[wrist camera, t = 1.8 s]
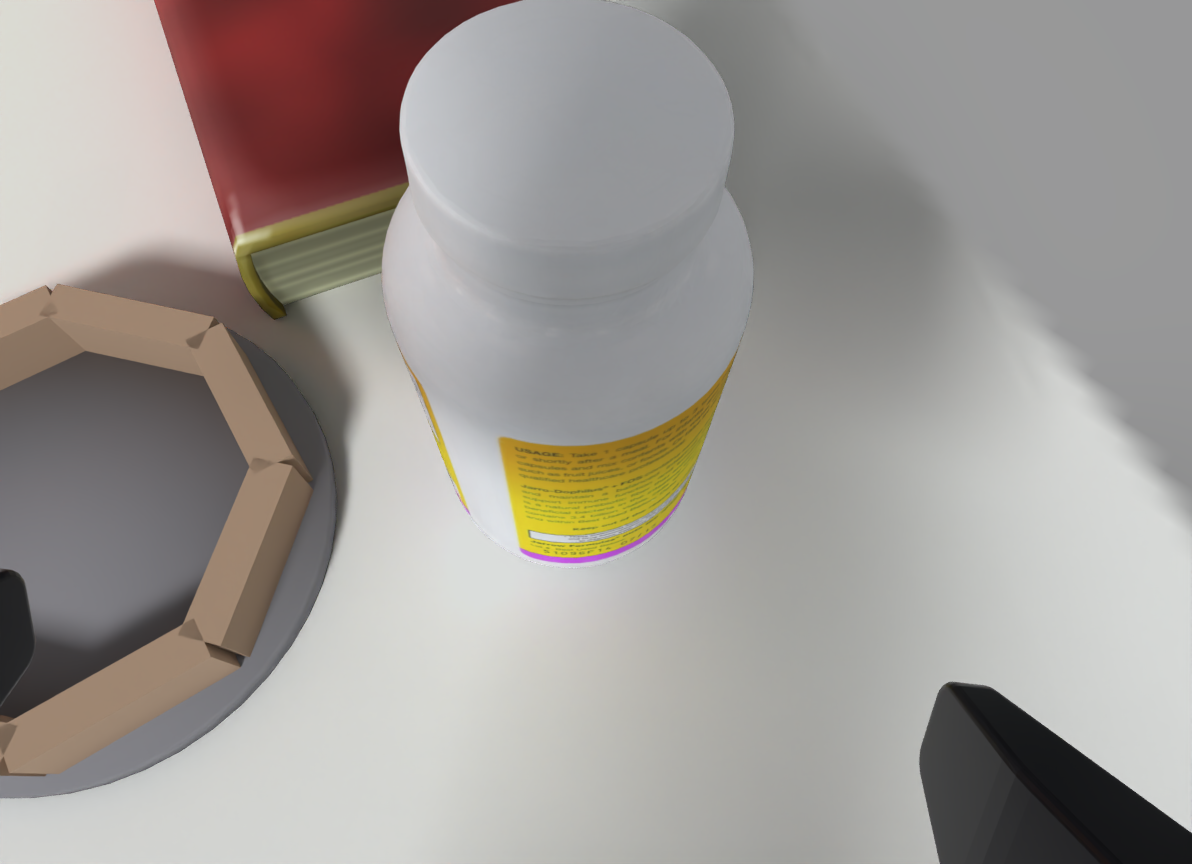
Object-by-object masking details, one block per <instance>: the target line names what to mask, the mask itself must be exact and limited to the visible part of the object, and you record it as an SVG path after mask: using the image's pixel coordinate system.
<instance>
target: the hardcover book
mask: <svg viewBox="0 0 1192 864" xmlns="http://www.w3.org/2000/svg"><path fill="white" fill-rule="evenodd" d="M518 1H522V0H154V2H155V5H156V8H157V11H158V14H159V17H160V21H161V24H162V27H163V30H164V33H165V36H166V39H167V43H168V46H169V49H170V52H171V55H172V58H173V62H174V65H175V68H176V71H177V74H178V77H179V81H180V84H181V87H182V90H183V93H184V96H185V100H186V103H187V106H188V109H189V112H190V115H191V119H192V122H193V125H194V128H195V131H196V134H197V137H198V141H199V144H200V147H201V150H202V153H203V156H204V160H205V163H206V166H207V169H208V172H209V175H210V179H211V182H212V185H213V188H214V191H215V194H216V198H217V201H218V204H219V207H220V210H221V213H222V217H223V220H224V223H225V226H226V229H227V232H228V235H229V239H230V242H231V245H232V248H233V251H234V254H235V258H236V261H237V264H238V267H239V270H240V273H241V277H242V279H243V281H244V283H245V285H246V287H247V289H248V290H249V292H250V294H251V295H252V297H253V298H254V299H255V301H256V302H257V303H258V304H259V306H260V307H261V308H262V309H263V310H264V311H265V312H266V313H267V314H269V315H270V316H271V317H272V318H273V319H274V320H275V319H278V318H281V317H284V316H287V314H286V311H285V308H284V305H285V304H288V303H292V302H295V301H298V300H301V299H304V298H307V297H310V296H313V295H316V294H319V293H322V292H325V291H328V290H331V289H334V288H337V287H340V286H343V285H346V284H349V283H352V282H355V281H358V280H361V279H364V278H367V277H370V276H373V275H376V274H379V273H382V257H383V247H384V243H385V239H386V234H387V230H388V227H389V225H390V222H391V219H392V216H393V214H394V212H395V209H396V207H397V205H398V203H399V201H400V199H401V198H402V196H403V194H404V193H405V191H406V190H407V188H408V186H409V180H408V174H407V169H406V164H405V159H404V155H403V150H402V146H401V140H400V132H399V128H400V110H401V104H402V100H403V97H404V93H405V90H406V87H407V84H408V82H409V79H410V77H411V75H412V74H413V72H414V70H415V68H416V66H417V65H418V64H419V62H420V61H421V60H422V58H423V57H424V56H425V54H426V53H427V52H428V51H429V50H430V49H431V48H432V47H433V46H434V45H435V44H436V43H437V42H438V41H439V40H440V39H441V38H442V37H443V36H444V35H446V34H447V33H449V32H450V31H452V30H453V29H454V28H456V27H457V26H459V25H460V24H462V23H463V22H465V21H467V20H469V19H471V18H473V17H475V16H476V15H478V14H481V13H484V12H486V11H489V10H491V9H494V8H497V7H499V6H503V5H507V4H511V3H515V2H518Z"/></svg>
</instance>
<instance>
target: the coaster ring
mask: <svg viewBox="0 0 1192 864" xmlns="http://www.w3.org/2000/svg"><path fill="white" fill-rule="evenodd" d="M335 526H336V485H335V477H334V469H333V463H332V460H331V456H330V452H329V449H328V445H327V442H326V438H325V436H324V434H323V432H322V429H321V427H320V425H319V423H318V421H317V419H316V416H315V414H314V413H313V411H312V410H311V408H310V407H309V405H308V403H307V402H306V400H305V399H304V397H303V396H302V394H301V393H300V391H299V390H298V388H297V387H296V386H295V384H294V383H293V381H292V380H291V379H290V378H289V376H288V375H287V374H286V373H285V372H284V371H283V370H282V369H281V368H280V366H279V365H278V364H277V363H276V362H275V361H274V360H273V359H272V358H271V357H269V356H268V355H267V354H266V353H264V352H263V351H262V350H261V349H259V348H258V347H257V346H256V345H255V344H253V343H252V342H250V341H248V340H247V339H245V338H243V337H242V336H240V335H238V334H237V333H235V332H233V331H232V330H230V329H228V328H226V327H225V326H224V325H223V323H220V324H219V323H218V322H217V320H216V319H215V318H214V317H212V316H207V315H203V314H198V313H193V312H189V311H184V310H179V309H174V308H170V307H165V306H160V305H155V304H151V303H146V302H141V301H136V300H132V299H127V298H122V297H118V296H113V295H108V294H103V293H99V292H94V291H89V290H84V289H80V288H75V287H70V286H65V285H61V284H57V285H56V287H55V289H54V291H53V292H52V291H51V290H50V289H49V288H48V287H47V286H46V285H45V286H43V287H41V288H38V289H36V290H34V291H32V292H29V293H27V294H25V295H22V296H20V297H18V298H16V299H13V300H11V301H9V302H7V303H4V304H2V305H0V568H2V569H11V570H14V571H15V572H17V573H19V574H20V575H21V577H22V578H23V579H24V581H25V584H26V589H27V594H28V600H29V605H30V611H31V616H32V621H33V627H34V632H35V639H36V645H35V651H34V655H33V658H32V660H31V662H30V664H29V666H28V668H27V669H26V671H25V672H24V674H23V675H22V677H21V678H20V679H19V681H18V682H17V684H16V685H15V687H14V688H13V689H12V691H11V692H10V694H9V695H8V697H7V698H6V699H5V701H4V702H3V704H2V705H1V707H0V798H35V797H44V796H52V795H61V794H70V793H74V792H78V791H82V790H86V789H90V788H94V787H98V786H102V785H106V784H110V783H112V782H115V781H117V780H120V779H123V778H125V777H128V776H130V775H133V774H136V773H138V772H141V771H143V770H146V769H148V768H150V767H151V766H153V765H155V764H157V763H159V762H161V761H163V760H165V759H167V758H169V757H171V756H172V755H174V754H176V753H178V752H180V751H182V750H183V749H185V748H186V747H187V746H189V745H190V744H192V743H193V742H195V741H196V740H198V739H199V738H201V737H202V736H204V735H205V734H207V733H208V732H210V731H211V730H213V729H214V728H215V727H216V726H217V725H218V724H220V723H221V722H222V721H223V720H224V719H226V718H227V717H228V716H229V715H230V714H231V713H233V712H234V711H235V710H236V709H237V708H238V707H240V706H241V705H242V704H243V703H244V702H245V701H246V700H247V699H248V698H249V697H250V695H251V694H252V693H253V692H254V691H255V690H256V689H257V688H258V687H259V686H260V685H261V684H262V683H263V682H264V681H265V679H266V678H267V677H268V676H269V675H270V674H271V672H272V671H273V670H274V668H275V667H276V666H277V664H278V663H279V662H280V660H281V659H282V658H283V656H284V655H285V654H286V652H287V651H288V650H289V648H290V647H291V645H292V643H293V642H294V640H295V638H296V637H297V635H298V633H299V631H300V630H301V628H302V626H303V625H304V623H305V621H306V619H307V618H308V616H309V614H310V611H311V609H312V607H313V604H314V602H315V600H316V597H317V595H318V593H319V591H320V588H321V586H322V583H323V580H324V576H325V573H326V569H327V566H328V563H329V559H330V556H331V552H332V545H333V539H334V532H335Z"/></svg>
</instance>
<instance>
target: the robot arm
mask: <svg viewBox="0 0 1192 864" xmlns="http://www.w3.org/2000/svg"><path fill="white" fill-rule="evenodd" d="M35 645H36V639H35V632H34V627H33V621H32V616H31V611H30V605H29V600H28V594H27V589H26V584H25V581H24V579H23V578H22V577H21V575H20V574H19V573H17V572H15V571H14V570H11V569H2V568H0V707H1V705H2V704H3V702H4V701H5V699H6V698H7V697H8V695H9V694H10V692H11V691H12V689H13V688H14V687H15V685H16V684H17V682H18V681H19V679H20V678H21V677H22V675H23V674H24V672H25V671H26V669H27V668H28V666H29V664H30V662H31V660H32V658H33V655H34V651H35ZM919 765H920V774H921V779H922V784H923V788H924V793H925V798H926V802H927V807H928V811H929V816H930V821H931V825H932V830H933V834H934V839H935V844H936V848H937V853H938V857H939V862H940V864H1192V833H1191V832H1189V831H1188V830H1187V829H1185V828H1184V827H1183V826H1181V825H1180V824H1178V823H1177V822H1176V821H1174V820H1173V819H1172V818H1170V817H1169V816H1167V815H1166V814H1165V813H1163V812H1162V811H1161V810H1159V809H1158V808H1156V807H1155V806H1154V805H1152V804H1151V803H1150V802H1148V801H1147V800H1145V799H1144V798H1143V797H1141V796H1140V795H1139V794H1137V793H1136V792H1134V791H1133V790H1132V789H1130V788H1129V787H1128V786H1126V785H1125V784H1123V783H1122V782H1121V781H1119V780H1118V779H1117V778H1115V777H1114V776H1112V775H1111V774H1110V773H1108V772H1107V771H1106V770H1104V769H1103V768H1101V767H1100V766H1099V765H1097V764H1096V763H1095V762H1093V761H1092V760H1090V759H1089V758H1088V757H1086V756H1085V755H1084V754H1082V753H1081V752H1079V751H1078V750H1077V749H1075V748H1074V747H1073V746H1071V745H1070V744H1069V743H1067V742H1066V741H1064V740H1063V739H1062V738H1060V737H1059V736H1058V735H1056V734H1055V733H1053V732H1052V731H1051V730H1049V729H1048V728H1047V727H1045V726H1044V725H1042V724H1041V723H1040V722H1038V721H1037V720H1036V719H1034V718H1033V717H1031V716H1030V715H1029V714H1027V713H1026V712H1025V711H1023V710H1022V709H1020V708H1019V707H1018V706H1016V705H1015V704H1014V703H1012V702H1011V701H1009V700H1008V699H1007V698H1005V697H1004V696H1003V695H1001V694H1000V693H998V692H997V691H996V690H994V689H993V688H991V687H988V686H985V685H976V684H968V683H959V682H948V683H946V684H945V685H943V686H942V688H941V689H940V690H939V693H938V695H937V698H936V701H935V704H934V707H933V710H932V713H931V717H930V720H929V723H928V726H927V729H926V732H925V736H924V739H923V742H922V745H921V749H920V760H919Z"/></svg>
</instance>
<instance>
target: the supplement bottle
mask: <svg viewBox="0 0 1192 864" xmlns="http://www.w3.org/2000/svg"><path fill="white" fill-rule="evenodd" d="M399 132H400V140H401V146H402V150H403V155H404V159H405V164H406V169H407V174H408V180H409V186H408V188H407V190H406V191H405V193H404V194H403V196H402V198H401V199H400V201H399V203H398V205H397V207H396V209H395V212H394V214H393V216H392V219H391V222H390V225H389V227H388V230H387V234H386V239H385V243H384V247H383V257H382V289H383V298H384V303H385V308H386V312H387V316H388V319H389V322H390V325H391V328H392V331H393V334H394V336H395V339H396V342H397V344H398V347H399V349H400V352H401V354H402V356H403V359H404V361H405V364H406V366H407V369H408V371H409V373H410V375H411V378H412V381H413V383H414V386H415V388H416V391H417V393H418V396H419V398H420V401H421V403H422V406H423V408H424V411H425V414H426V416H427V419H428V422H429V424H430V427H431V429H432V432H433V435H434V437H435V440H436V442H437V445H438V447H439V450H440V453H441V456H442V458H443V460H444V463H445V466H446V469H447V471H448V474H449V476H450V478H451V481H452V483H453V486H454V488H455V491H456V493H457V495H458V497H459V499H460V501H461V503H462V505H463V506H464V508H465V510H466V512H467V513H468V515H469V516H470V518H471V519H472V521H473V522H474V523H475V524H476V525H477V527H478V528H479V529H480V530H481V531H482V532H483V533H484V534H485V535H486V536H487V537H488V538H489V539H491V540H492V541H493V542H494V543H495V544H497V545H498V546H500V547H501V548H503V549H504V550H506V551H508V552H510V553H511V554H514V555H516V556H518V557H520V558H522V559H525V560H527V561H530V562H534V563H537V564H540V565H545V566H551V567H559V568H583V567H590V566H596V565H600V564H604V563H608V562H610V561H613V560H616V559H619V558H621V557H623V556H625V555H627V554H629V553H631V552H633V551H635V550H636V549H638V548H640V547H641V546H643V545H644V544H645V543H647V542H648V541H649V540H651V539H652V538H653V537H654V536H655V535H656V534H657V533H658V532H659V531H660V530H661V529H662V528H663V527H664V526H665V524H666V523H667V522H668V520H669V519H670V518H671V516H672V515H673V514H674V512H675V511H676V509H677V507H678V506H679V504H680V502H681V500H682V498H683V496H684V493H685V491H686V488H687V486H688V483H689V481H690V478H691V475H692V473H693V470H694V467H695V465H696V462H697V459H698V456H699V454H700V451H701V448H702V446H703V443H704V440H705V438H706V435H707V432H708V429H709V427H710V424H711V421H712V418H713V415H714V413H715V410H716V407H717V404H718V402H719V399H720V396H721V394H722V391H723V388H724V385H725V383H726V380H727V377H728V374H729V372H730V369H731V366H732V364H733V361H734V358H735V355H736V353H737V350H738V347H739V344H740V342H741V339H742V336H743V333H744V329H745V326H746V323H747V319H748V316H749V312H750V307H751V303H752V295H753V283H754V266H753V256H752V250H751V245H750V241H749V236H748V233H747V230H746V226H745V223H744V220H743V217H742V215H741V213H740V211H739V209H738V207H737V205H736V203H735V201H734V200H733V198H732V196H731V194H730V193H729V191H728V190H727V189H726V187H725V182H726V178H727V174H728V169H729V165H730V161H731V156H732V150H733V143H734V135H735V131H734V115H733V108H732V103H731V100H730V97H729V94H728V91H727V88H726V86H725V84H724V82H723V79H722V77H721V76H720V74H719V73H718V71H717V69H716V68H715V66H714V65H713V63H712V62H711V61H710V60H709V58H708V57H707V56H706V55H705V54H704V53H703V52H702V51H701V49H700V48H699V47H698V46H697V45H696V44H695V43H693V42H692V41H691V40H690V39H689V38H688V37H687V36H686V35H684V34H683V33H681V32H680V31H679V30H677V29H676V28H674V27H673V26H671V25H670V24H668V23H666V22H664V21H662V20H661V19H659V18H657V17H655V16H653V15H651V14H648V13H646V12H644V11H641V10H638V9H636V8H633V7H629V6H625V5H621V4H618V3H614V2H609V1H604V0H522V1H518V2H515V3H511V4H507V5H503V6H499V7H497V8H494V9H491V10H489V11H486V12H484V13H481V14H478V15H476V16H475V17H473V18H471V19H469V20H467V21H465V22H463V23H462V24H460V25H459V26H457V27H456V28H454V29H453V30H452V31H450V32H449V33H447V34H446V35H444V36H443V37H442V38H441V39H440V40H439V41H438V42H437V43H436V44H435V45H434V46H433V47H432V48H431V49H430V50H429V51H428V52H427V53H426V54H425V56H424V57H423V58H422V60H421V61H420V62H419V64H418V65H417V66H416V68H415V70H414V72H413V74H412V75H411V77H410V79H409V82H408V84H407V87H406V90H405V93H404V97H403V100H402V104H401V110H400V128H399Z"/></svg>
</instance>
